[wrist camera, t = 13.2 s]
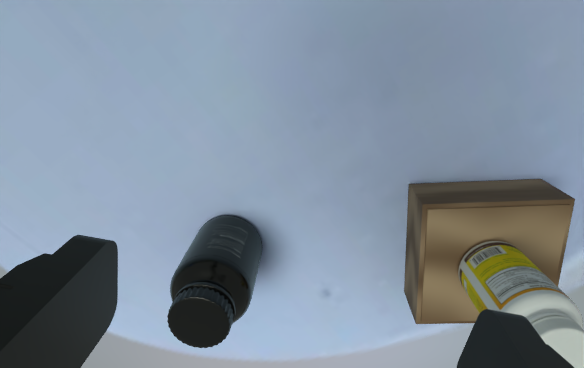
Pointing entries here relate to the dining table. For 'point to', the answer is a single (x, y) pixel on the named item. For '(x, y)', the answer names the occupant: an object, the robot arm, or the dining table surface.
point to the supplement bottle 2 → (523, 295)
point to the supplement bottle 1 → (214, 281)
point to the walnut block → (477, 237)
